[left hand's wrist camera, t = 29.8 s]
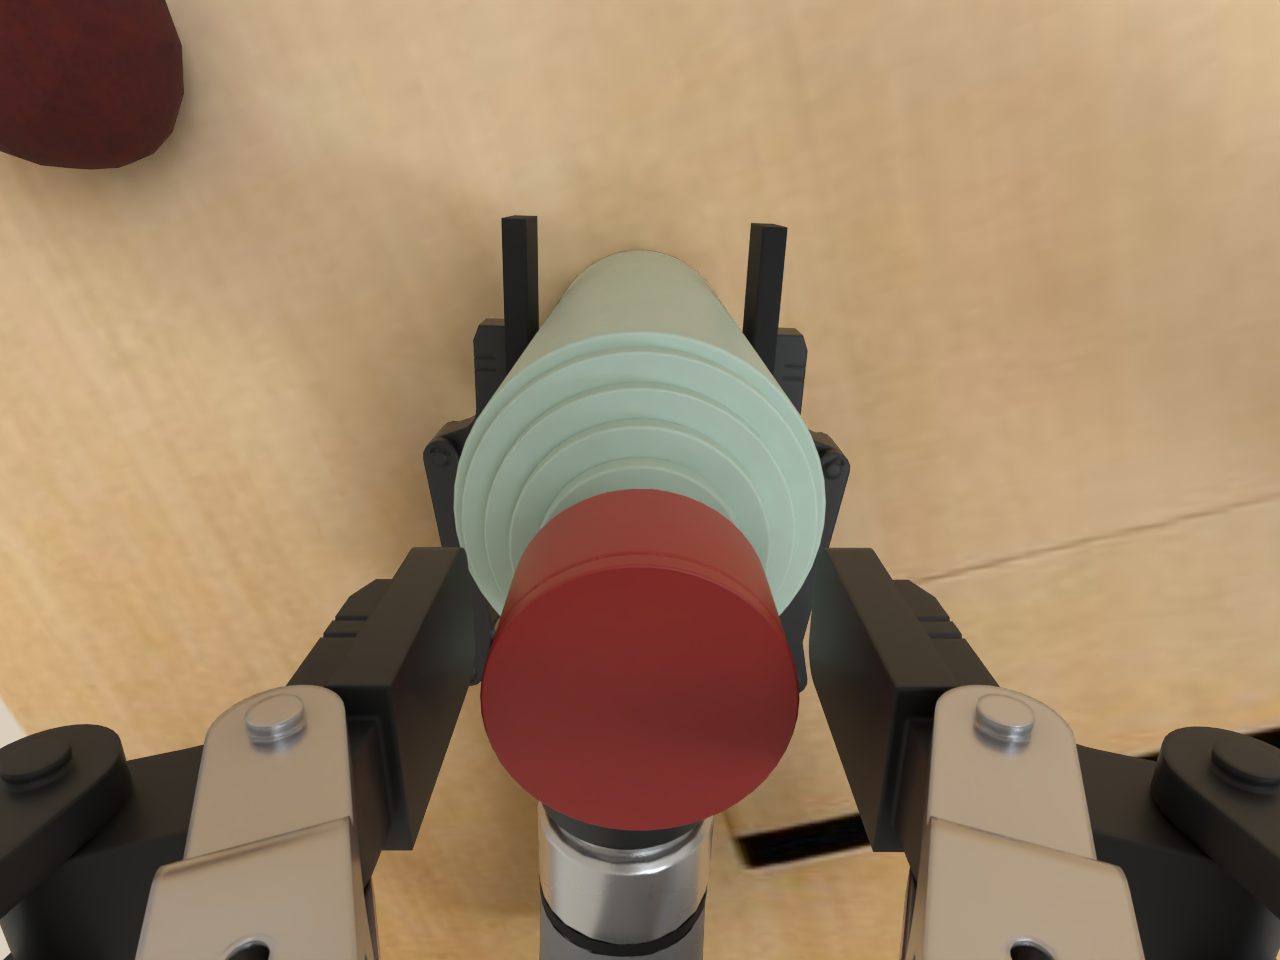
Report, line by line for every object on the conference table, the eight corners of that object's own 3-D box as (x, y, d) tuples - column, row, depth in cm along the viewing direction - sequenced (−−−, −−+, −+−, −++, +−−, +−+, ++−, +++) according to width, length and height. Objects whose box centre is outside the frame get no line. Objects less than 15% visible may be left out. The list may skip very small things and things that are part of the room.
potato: (-22, 67, 29) (-218, 31, 22) (92, -108, 27) (-86, -204, 20) (148, 217, 31) (14, 225, 24) (265, 63, 29) (154, 26, 22)
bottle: (729, 415, 34) (905, 863, 11) (564, 429, 34) (419, 894, 12) (721, 242, 31) (928, 383, 9) (542, 258, 31) (306, 434, 9)
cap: (806, 657, 12) (845, 769, 10) (584, 745, 13) (571, 869, 11) (704, 443, 11) (723, 512, 9) (463, 551, 12) (419, 643, 9)
